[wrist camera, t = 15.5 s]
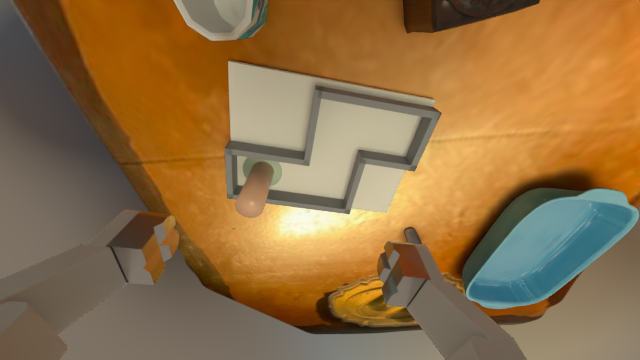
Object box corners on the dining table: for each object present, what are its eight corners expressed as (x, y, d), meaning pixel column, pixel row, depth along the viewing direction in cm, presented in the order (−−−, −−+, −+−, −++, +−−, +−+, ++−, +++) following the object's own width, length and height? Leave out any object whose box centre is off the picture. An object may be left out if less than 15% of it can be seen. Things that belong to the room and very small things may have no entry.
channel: (432, 98, 37) (444, 106, 33) (385, 209, 49) (390, 223, 45) (230, 60, 33) (220, 64, 30) (234, 189, 46) (227, 202, 42)
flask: (402, 228, 52) (420, 270, 43) (415, 225, 52) (436, 266, 43) (410, 253, 57) (427, 296, 48) (422, 250, 56) (442, 292, 47)
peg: (274, 163, 41) (264, 198, 33) (273, 181, 43) (262, 219, 35) (251, 159, 41) (234, 194, 32) (251, 178, 43) (235, 215, 34)
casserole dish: (523, 162, 44) (556, 184, 38) (627, 177, 46) (673, 200, 40) (439, 280, 63) (451, 306, 57) (513, 286, 65) (533, 312, 59)
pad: (283, 156, 41) (283, 157, 40) (280, 188, 44) (280, 189, 44) (243, 150, 40) (242, 151, 40) (243, 183, 44) (242, 184, 43)
